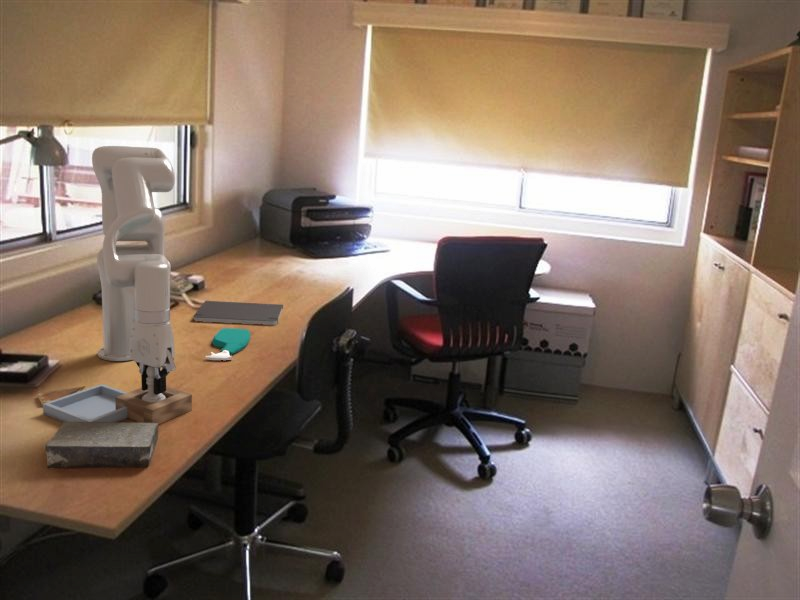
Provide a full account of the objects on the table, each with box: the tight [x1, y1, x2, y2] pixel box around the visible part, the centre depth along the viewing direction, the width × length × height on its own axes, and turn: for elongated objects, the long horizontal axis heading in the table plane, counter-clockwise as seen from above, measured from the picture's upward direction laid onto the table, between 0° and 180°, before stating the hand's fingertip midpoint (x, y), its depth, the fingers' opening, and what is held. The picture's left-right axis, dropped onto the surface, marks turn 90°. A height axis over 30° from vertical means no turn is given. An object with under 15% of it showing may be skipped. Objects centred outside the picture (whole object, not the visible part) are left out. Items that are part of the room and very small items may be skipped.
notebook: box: [193, 300, 284, 326], centre depth 251 cm, size 22×2×28 cm
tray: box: [42, 383, 129, 423], centre depth 166 cm, size 16×16×2 cm
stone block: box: [44, 421, 159, 470], centre depth 147 cm, size 14×20×5 cm
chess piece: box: [142, 366, 166, 403], centre depth 167 cm, size 5×5×9 cm
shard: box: [37, 386, 86, 407], centre depth 172 cm, size 11×8×2 cm
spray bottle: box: [204, 327, 252, 361], centre depth 216 cm, size 3×11×24 cm
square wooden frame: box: [115, 385, 193, 425], centre depth 168 cm, size 12×12×4 cm
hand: (153, 390), depth 167 cm, fingers closed on chess piece, 3 cm apart
